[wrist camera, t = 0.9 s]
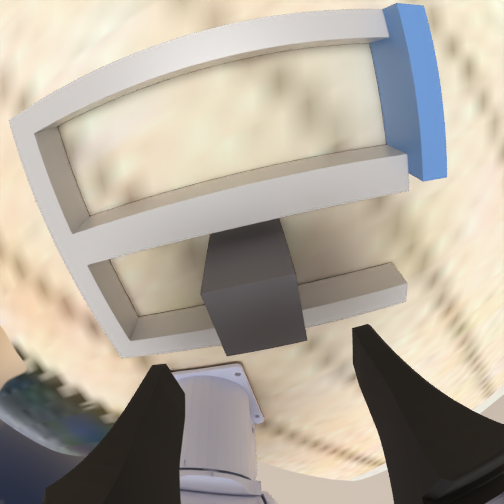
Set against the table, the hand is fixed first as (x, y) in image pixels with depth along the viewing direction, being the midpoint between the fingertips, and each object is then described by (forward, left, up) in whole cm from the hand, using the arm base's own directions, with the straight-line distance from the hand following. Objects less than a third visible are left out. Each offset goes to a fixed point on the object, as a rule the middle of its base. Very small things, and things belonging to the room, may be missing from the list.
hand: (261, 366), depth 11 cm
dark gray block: (0, 0, -9) cm, 9 cm away
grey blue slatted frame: (+4, 0, -9) cm, 10 cm away
